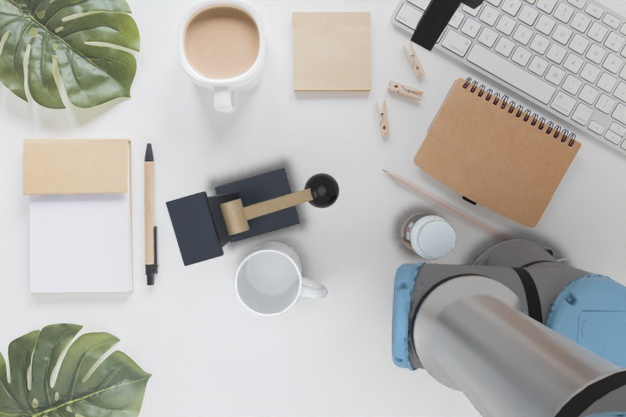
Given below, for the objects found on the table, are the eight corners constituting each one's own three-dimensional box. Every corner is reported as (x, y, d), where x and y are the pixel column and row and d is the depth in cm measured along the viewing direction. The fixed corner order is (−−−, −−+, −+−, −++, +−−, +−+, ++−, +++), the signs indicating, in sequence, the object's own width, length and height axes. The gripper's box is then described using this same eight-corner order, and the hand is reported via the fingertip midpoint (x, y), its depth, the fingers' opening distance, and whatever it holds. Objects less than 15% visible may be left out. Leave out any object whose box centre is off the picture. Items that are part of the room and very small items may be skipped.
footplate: (284, 167, 77) (284, 167, 75) (300, 222, 77) (299, 223, 76) (215, 187, 77) (214, 187, 75) (231, 242, 77) (230, 243, 76)
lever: (322, 172, 58) (340, 167, 55) (331, 204, 59) (350, 201, 55) (212, 203, 52) (226, 198, 49) (223, 239, 52) (238, 237, 49)
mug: (334, 258, 77) (339, 270, 67) (316, 313, 78) (318, 334, 67) (254, 232, 77) (246, 240, 67) (236, 288, 77) (225, 304, 67)
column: (239, 187, 75) (204, 191, 49) (251, 229, 76) (222, 255, 49) (214, 195, 75) (165, 202, 49) (226, 236, 76) (184, 266, 49)
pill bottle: (397, 249, 77) (410, 258, 68) (404, 209, 77) (418, 213, 67) (436, 255, 78) (455, 266, 68) (443, 215, 77) (464, 220, 67)
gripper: (881, -417, 22) (513, 57, 39) (596, -591, 21) (352, -32, 38) (979, -447, 16) (505, 114, 34) (604, -678, 16) (318, 12, 33)
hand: (424, 36), depth 36 cm, fingers closed
